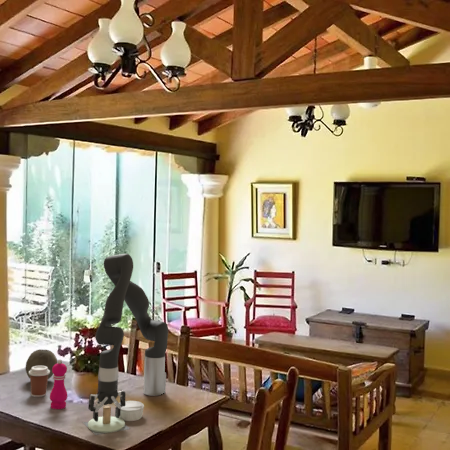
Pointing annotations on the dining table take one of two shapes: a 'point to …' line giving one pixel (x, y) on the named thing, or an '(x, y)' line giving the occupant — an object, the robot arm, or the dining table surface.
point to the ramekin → (131, 411)
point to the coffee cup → (39, 380)
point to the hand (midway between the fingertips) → (106, 419)
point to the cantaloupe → (41, 360)
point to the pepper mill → (58, 386)
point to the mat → (105, 433)
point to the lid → (106, 422)
